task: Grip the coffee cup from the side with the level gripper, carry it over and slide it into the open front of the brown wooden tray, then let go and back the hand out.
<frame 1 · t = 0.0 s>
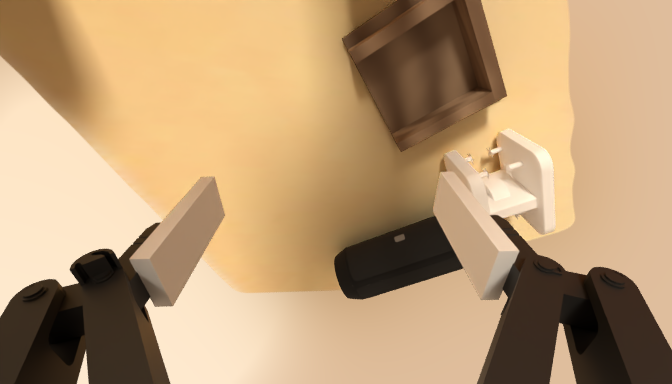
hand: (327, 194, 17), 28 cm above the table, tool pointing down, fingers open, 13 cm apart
portable speaker: (401, 236, 55), on the table, touching cable organizer
cable organizer: (476, 174, 48), on the table, touching portable speaker
brown wooden tray: (420, 69, 39), on the table
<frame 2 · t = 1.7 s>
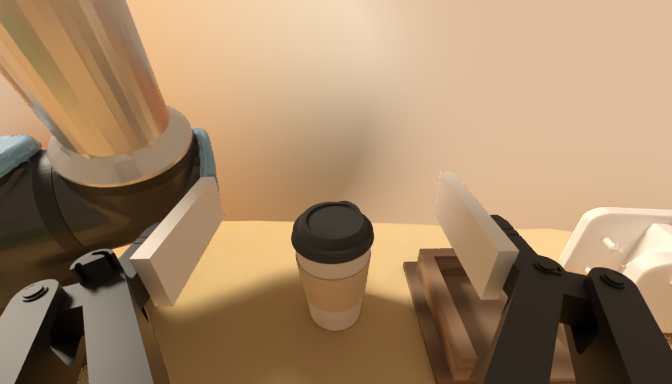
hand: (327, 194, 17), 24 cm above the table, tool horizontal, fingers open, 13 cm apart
coffee cup: (334, 307, 37), on the table
cable organizer: (633, 303, 37), on the table, touching portable speaker
brown wooden tray: (489, 318, 35), on the table
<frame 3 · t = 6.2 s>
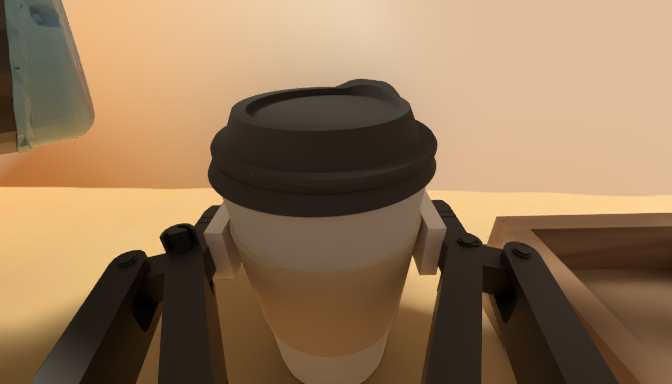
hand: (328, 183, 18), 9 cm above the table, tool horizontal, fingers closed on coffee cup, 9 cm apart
coffee cup: (331, 334, 18), on the table, touching gripper
brown wooden tray: (666, 358, 16), on the table
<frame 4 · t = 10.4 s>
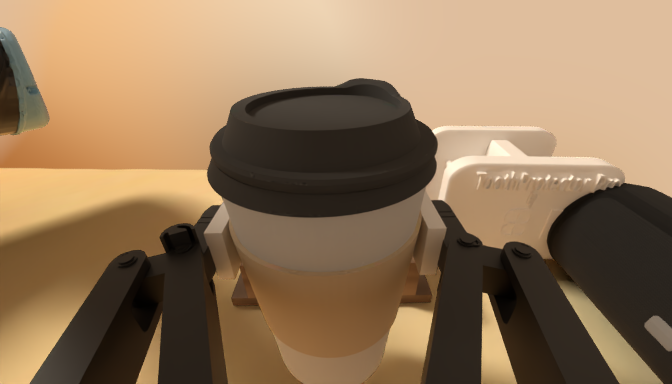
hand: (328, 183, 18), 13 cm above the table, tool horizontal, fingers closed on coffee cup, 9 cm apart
coffee cup: (331, 334, 18), point 5 cm above the table, touching gripper
cable organizer: (483, 234, 34), on the table, touching portable speaker
brown wooden tray: (332, 247, 32), on the table
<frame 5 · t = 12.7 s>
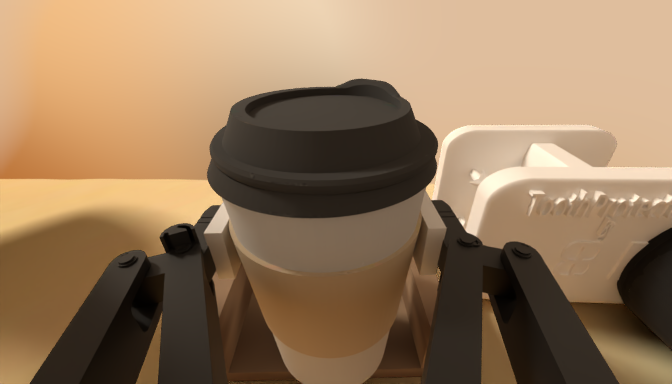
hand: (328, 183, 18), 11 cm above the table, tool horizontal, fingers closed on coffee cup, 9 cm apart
coffee cup: (331, 334, 18), point 2 cm above the table, touching gripper
cable organizer: (519, 264, 26), on the table, touching portable speaker
brown wooden tray: (327, 285, 24), on the table
when the fingers open (11 cm above the table, at t = 14.5 s): coffee cup moves 3 cm, resting on brown wooden tray.
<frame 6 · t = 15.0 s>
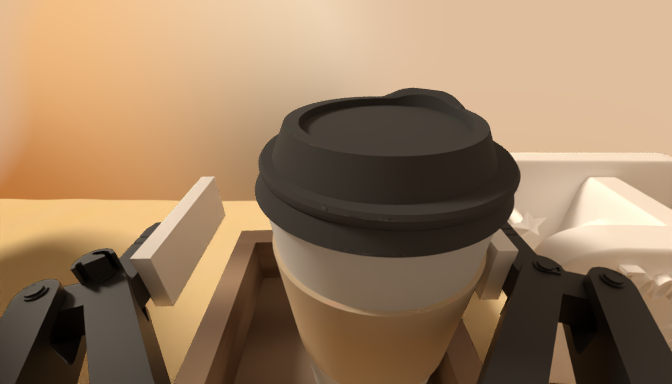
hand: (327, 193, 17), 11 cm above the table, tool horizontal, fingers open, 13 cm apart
coffee cup: (367, 357, 17), point 2 cm above the table, touching brown wooden tray, gripper
cable organizer: (565, 323, 21), on the table, touching portable speaker
brown wooden tray: (333, 353, 19), on the table
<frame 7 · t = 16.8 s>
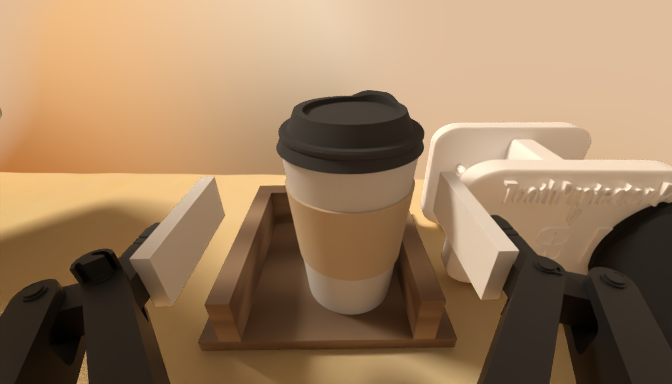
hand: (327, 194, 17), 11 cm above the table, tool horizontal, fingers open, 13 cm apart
coffee cup: (348, 281, 24), point 1 cm above the table, touching brown wooden tray
cable organizer: (502, 252, 28), on the table, touching portable speaker
brown wooden tray: (329, 269, 26), on the table
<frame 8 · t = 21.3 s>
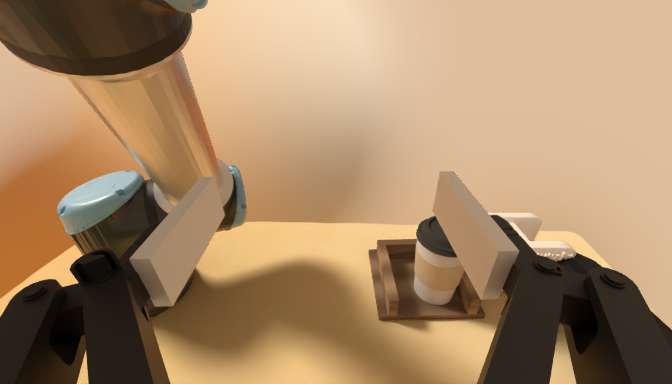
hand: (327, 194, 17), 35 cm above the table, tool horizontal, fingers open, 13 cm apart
coffee cup: (432, 290, 52), point 1 cm above the table, touching brown wooden tray
portable speaker: (603, 355, 42), on the table, touching cable organizer
cable organizer: (500, 275, 56), on the table, touching portable speaker
brown wooden tray: (419, 284, 54), on the table
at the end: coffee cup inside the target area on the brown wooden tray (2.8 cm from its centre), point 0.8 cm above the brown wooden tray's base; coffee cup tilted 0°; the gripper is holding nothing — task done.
